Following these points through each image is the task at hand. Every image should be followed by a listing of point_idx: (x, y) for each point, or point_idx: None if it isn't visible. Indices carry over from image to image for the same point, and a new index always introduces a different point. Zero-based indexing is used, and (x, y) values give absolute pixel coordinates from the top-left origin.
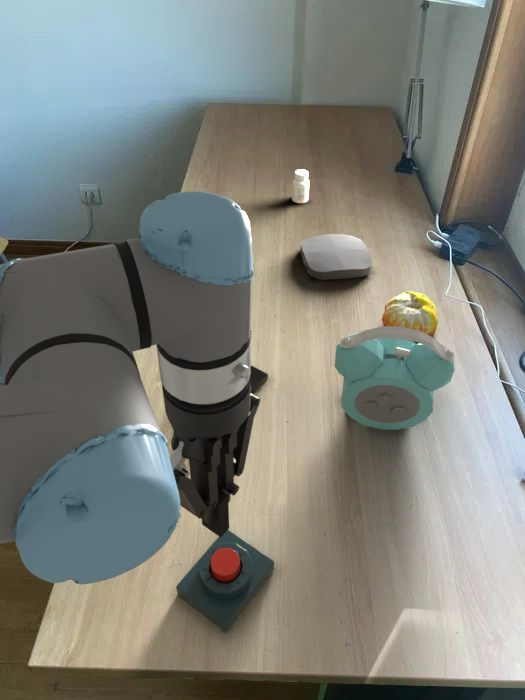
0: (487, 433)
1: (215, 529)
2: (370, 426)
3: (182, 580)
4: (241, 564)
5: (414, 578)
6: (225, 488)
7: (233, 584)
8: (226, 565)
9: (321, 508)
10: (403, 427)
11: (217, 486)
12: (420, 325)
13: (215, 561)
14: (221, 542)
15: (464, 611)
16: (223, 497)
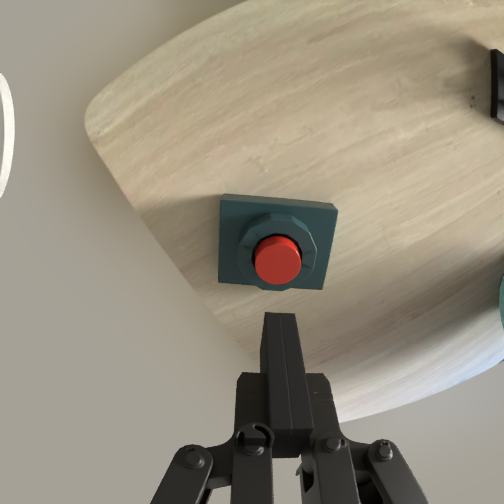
0: (492, 354)
1: (261, 354)
2: (502, 280)
3: (233, 202)
4: None
5: (361, 375)
6: (300, 474)
7: (260, 279)
8: (273, 269)
9: (410, 285)
10: (500, 311)
11: (305, 451)
12: None
13: (270, 253)
14: (314, 217)
15: (346, 402)
16: (286, 456)
